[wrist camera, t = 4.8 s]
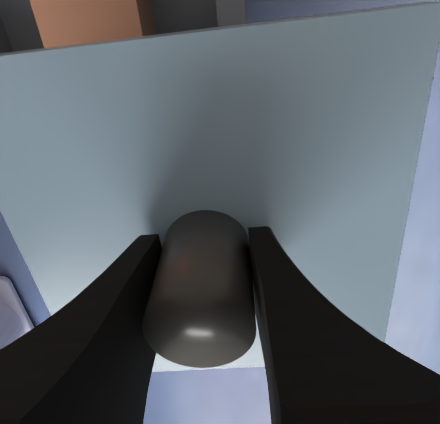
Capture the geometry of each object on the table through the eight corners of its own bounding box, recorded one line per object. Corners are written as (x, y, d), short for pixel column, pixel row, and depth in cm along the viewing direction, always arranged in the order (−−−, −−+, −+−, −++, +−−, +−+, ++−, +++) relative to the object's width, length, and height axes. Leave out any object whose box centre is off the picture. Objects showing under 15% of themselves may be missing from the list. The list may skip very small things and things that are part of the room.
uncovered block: (78, 63, 17) (52, 74, 15) (51, -37, 15) (15, -45, 13) (160, 55, 17) (147, 64, 15) (143, -48, 15) (125, -58, 13)
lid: (94, 341, 17) (44, 466, 12) (-28, 55, 11) (-220, 97, 6) (366, 325, 16) (420, 455, 12) (412, 1, 10) (573, 4, 5)
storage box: (33, 144, 20) (-20, 183, 16) (-73, -147, 14) (-205, -212, 10) (248, 126, 19) (252, 162, 15) (231, -190, 13) (232, -281, 9)
